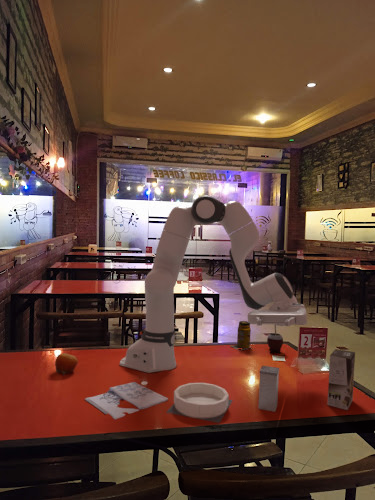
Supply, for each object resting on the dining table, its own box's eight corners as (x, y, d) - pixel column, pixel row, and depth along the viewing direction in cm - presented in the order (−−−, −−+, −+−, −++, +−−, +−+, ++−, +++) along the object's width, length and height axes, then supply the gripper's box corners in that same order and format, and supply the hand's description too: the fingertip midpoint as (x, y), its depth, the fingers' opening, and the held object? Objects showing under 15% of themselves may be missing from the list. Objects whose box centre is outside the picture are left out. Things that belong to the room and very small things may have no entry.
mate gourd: (275, 355, 173) (277, 321, 172) (262, 350, 179) (263, 318, 178) (286, 352, 178) (287, 319, 177) (272, 348, 184) (273, 316, 183)
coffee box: (348, 410, 119) (351, 358, 119) (326, 405, 123) (329, 354, 122) (353, 400, 127) (356, 351, 126) (332, 395, 131) (335, 348, 130)
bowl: (166, 412, 113) (166, 398, 113) (185, 391, 128) (185, 379, 128) (219, 423, 108) (219, 408, 107) (232, 400, 123) (233, 387, 122)
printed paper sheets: (169, 405, 121) (170, 398, 120) (112, 424, 107) (112, 416, 107) (135, 385, 135) (135, 379, 135) (81, 400, 121) (81, 393, 121)
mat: (166, 414, 113) (166, 412, 113) (185, 393, 128) (185, 391, 128) (219, 425, 108) (219, 423, 108) (232, 402, 123) (232, 400, 123)
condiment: (253, 348, 183) (254, 322, 182) (240, 350, 178) (241, 324, 177) (243, 344, 189) (244, 319, 188) (229, 346, 184) (230, 321, 184)
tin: (257, 410, 117) (259, 370, 117) (260, 403, 122) (262, 365, 122) (275, 413, 116) (277, 373, 115) (277, 406, 120) (279, 367, 120)
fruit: (46, 371, 140) (54, 349, 144) (58, 376, 146) (66, 355, 150) (64, 374, 137) (72, 352, 141) (76, 379, 143) (83, 358, 147)
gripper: (252, 304, 146) (241, 313, 133) (308, 304, 137) (303, 314, 124) (253, 321, 146) (243, 331, 134) (310, 321, 137) (304, 333, 125)
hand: (272, 323), depth 129 cm, fingers open, 8 cm apart
